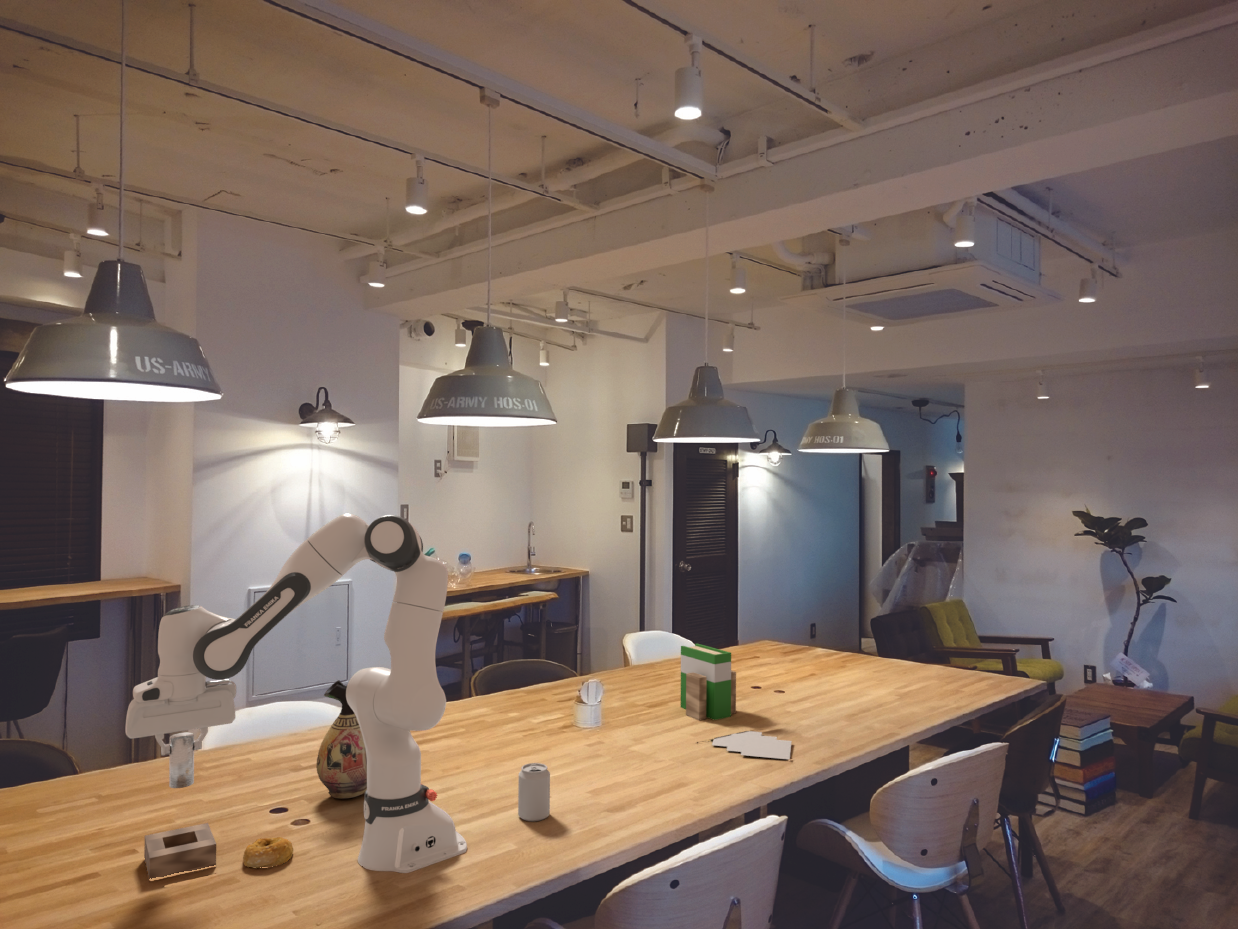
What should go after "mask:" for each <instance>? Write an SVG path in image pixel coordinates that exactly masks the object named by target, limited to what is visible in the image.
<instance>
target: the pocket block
mask: <svg viewBox="0 0 1238 929" xmlns="http://www.w3.org/2000/svg"><path fill="white" fill-rule="evenodd" d="M143 854H144V858H145V860H144V863H145V862H146V865H145V867H146V866H147V870H146V872H147V871H148V874H147V876H148V875H149V879H150V878H151V879H152V878H156V877H164V876H167V875H171V874H174V873H179V872H184V871H192V870H197V869H201V868H205V867H209V866H214V865H216V866H217V842H216V839H215V837H214V835H213V832H212V830H211V827H210V824H209V822H207V823H206V822H205V823H200V824H196V825H192V826H191V825H190V826H185V827H181V828H175V829H170V830H167V831H162V832H155V833H150V834H145V835H144V853H143ZM144 858H143V859H144ZM149 879H148V880H149Z"/></svg>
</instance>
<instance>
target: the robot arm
mask: <svg viewBox="0 0 1238 929" xmlns="http://www.w3.org/2000/svg"><path fill="white" fill-rule="evenodd" d="M365 560H370V561H372V562H373V563H375V564H376V565H378V566H380V567H381V568H383V569H386V570H388V571H390V572H394V573H395V576H396V586H395V592H394V595H393V599H392V603H391V607H390V611H389V615H388V617H387V622H386V626H385V631H384V632H383V633H384V634H383V639H384V643H385V645H386V647H387V648H388V651H389V654H390V668H388V667H383V666H378V667H377V666H373V667H371V666H370V667H366V668H361V669H359V670H357V671H356V672H355V673H354V674H353V675H352V676H351V677H350V679H349V681H348V682H349V683H347V685H346V686H347V689H346V699H347V702H348V704H349V706H350V707H351V709H352V710H353V712H354V713H355V715H356V718H357V720H358V723H359V726H360V729H361V733H362V737H363V740H364V745H365V750H366V758H367V790H366V791H365V793H364V800H363V816H364V817H363V818H364V820H365V821H364V830H363V836H362V842H361V847H360V849H359V854H358V856H357V862H358V864H359V865H360V866H361V867H362V866H363V867H362V868H364V869H366V870H370V871H376V872H397V873H399V874H408V873H412V872H414V871H418V870H421V869H423V868H425V867H428V866H432V865H434V864H436V863H440V862H442V861H445V860H449V859H451V858H454V857H456V856H459V855H462V854H465V853H466V852H467V850H468V844H467V841H466V839H465V838H464V836H462V834H460V833H459V832H458V831H457V829H456V825H455V821H454V819H453V818H452V817H451V815H449V813H448V812H446V811H445V810H444V809H443V808H441V807H439V806H437V805H436V804H434V803H433V802H434V801H436V800H437V798H438V794H437V792H436V791H435V790H434V789H432V788H429V786H427V785H425V784H423V783H422V782H421V781H422V752H421V751H422V750H421V749H420V746H419V745H418V743H417V742H416V740H415V738H414V737H413V735H412V733H411V731H415V732H417V731H419V732H420V731H428V730H431V729H432V728H434V727H436V726H437V725H438V723H439V722H440V721H441V719H442V718H443V716H444V714H445V712H446V708H447V707H446V706H447V697H446V694H445V690H444V689H443V688H442V686H441V684H440V681H439V678H438V673H437V667H436V651H437V650H436V648H437V641H438V636H439V631H440V627H441V623H442V619H443V614H444V609H445V605H446V600H447V594H448V586H449V585H448V584H449V570H448V567H447V566H446V565H445V564H444V563H443V562H442V561H441V560H439V559H438V558H435V557H433V556H428V555H426V554H424V543H423V540H422V537H421V535H420V534H419V531H418V529H417V528H416V527H415V526H414V525H413V524H412V523H411V522H410V521H409V520H407V519H406V518H404V517H402V516H400V515H397V514H394V515H393V514H386V515H382V516H379V517H378V518H376V519H374V520H373V521H372V522H371V523H370V524H368V523H367V522H366V521H365V520H364V519H363V518H361V517H360V516H357V515H355V514H353V513H343V514H341V515H339V516H336V517H335V518H333V519H331V520H330V521H328V522H327V523H326V524H324V525H323V526H321V527H320V528H319V529H317V530H316V531H315V532H314V533H312V534H311V535H310V536H309V537H307V538H306V539H305V540H304V541H303V542H302V543H300V545H299V546H297V548H296V549H295V550H294V552H292V554H291V555H290V556H289V557H288V558H287V560H286V561H285V563H284V564H283V565H282V567H281V569H280V571H279V573H278V575H277V576H276V578H275V580H274V581H273V583H272V584H271V585H270V587H269V588H268V589H267V591H266V592H265V593H264V594H263V595H262V596H261V597H260V598H258V599H257V600H256V601H255V602H254V603H252V604H251V605H250V606H249V607H248V608H247V609H246V610H245V611H244V612H243V613H241V615H240V616H238V617H237V618H232V617H226V616H223V615H219V614H217V613H214V612H212V611H209V610H208V609H206V608H205V607H203V606H202V605H198V604H191V605H185V606H180V607H177V608H173V609H171V610H169V611H168V612H166V613H165V614H164V615H163V616H162V617H161V620H160V622H159V627H158V628H159V629H158V635H157V636H158V638H157V654H158V657H159V666H158V669H157V677H154V678H152V679H150V680H147V681H144V682H142V683H139V684H137V685H135V686H134V687H133V690H132V696H133V699H131V701H130V702H129V704H128V706H127V707H128V708H127V711H126V718H125V731H124V732H125V735H126V737H127V738H129V739H138V738H140V739H141V738H146V737H151V736H152V737H153V736H154V738H155V740H156V742H157V744H158V745H159V746H160V747H161V748H160V750H161V756H167V755H170V743H165V742H164V741H163V740H164V739H165V734H171V733H178V732H179V733H180V732H184V731H190V730H192V731H193V730H197V729H199V732H200V734H199V736H198V737H197V738H196V739H195V738H194V751H197V750H202V749H203V741H204V740H205V738H206V736H207V734H208V733H209V728H210V727H215V726H216V727H217V726H223V725H230V724H232V723H233V722H234V721H235V720H236V707H235V706H236V705H235V701H234V699H235V697H236V695H237V685H236V683H235V682H234V681H231V680H229V679H230V678H232V677H234V676H236V675H238V674H239V673H240V672H241V671H242V670H243V669H244V668H245V666H246V665H247V662H248V661H249V658H250V655H251V653H252V651H253V649H254V648H255V646H256V645H257V644H258V643H259V642H260V641H261V640H262V639H263V638H264V637H265V636H266V635H268V633H269V632H270V631H271V630H273V629H274V628H275V627H276V626H277V625H278V624H279V623H280V622H282V620H284V618H286V616H288V615H289V614H290V613H291V612H293V611H294V610H296V609H297V608H299V607H300V606H301V605H303V604H305V603H307V602H308V601H310V600H311V599H313V598H314V597H316V596H318V595H319V594H321V593H322V592H323V591H325V590H327V589H328V588H330V587H331V586H333V584H335V583H336V582H337V581H338V580H340V578H342V577H343V576H344V575H345V574H347V572H348V571H349V570H351V569H352V568H353V567H354V566H355V565H357V564H358V563H360V562H361V561H365ZM206 678H208V679H211V680H210V681H206V680H207V679H206Z"/></svg>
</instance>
